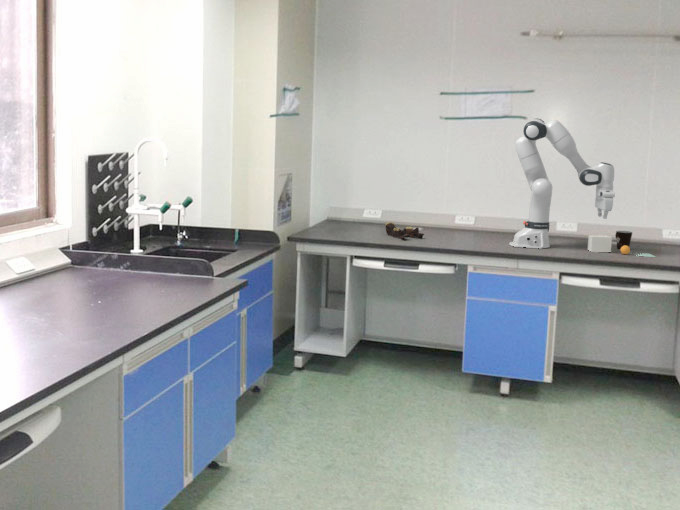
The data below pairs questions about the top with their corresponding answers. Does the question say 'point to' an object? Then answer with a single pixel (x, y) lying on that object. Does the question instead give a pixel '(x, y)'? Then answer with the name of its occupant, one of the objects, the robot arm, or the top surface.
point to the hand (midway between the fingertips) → (602, 217)
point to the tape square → (645, 255)
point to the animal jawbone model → (402, 231)
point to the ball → (625, 249)
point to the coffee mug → (623, 238)
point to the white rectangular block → (599, 243)
